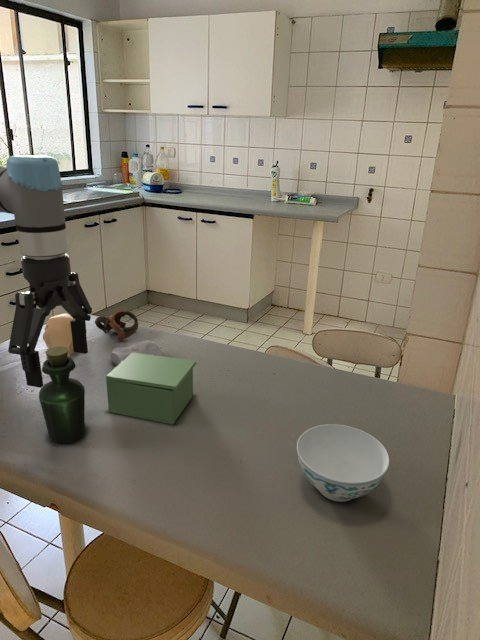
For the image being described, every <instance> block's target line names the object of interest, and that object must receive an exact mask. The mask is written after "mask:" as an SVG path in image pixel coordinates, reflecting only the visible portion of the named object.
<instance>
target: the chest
mask: <svg viewBox="0 0 480 640" xmlns="http://www.w3.org/2000/svg"><path fill="white" fill-rule="evenodd" d="M105 381H106V395H107V405H108V406H107V407H108V408H107V409H108V412H109V413H113V414H118V415H123V416H128V417H133V418H137V419H143V420H147V421H154V422H158V423H162V424H163V423H164V424H168V425H174V423H176V421H177V419H178V418H179V417H180V415H181V414H182V412H183V411H184V409H185V408H186V407H187V405H188V404H189V403H190V401H191V400H192V398H193V396H194V368H193V369H192V370H191V371H190V373H189V374H188V375H187V376H186V378H185V379H184V380H183V382H182V383H181V384H180V385H179V387H178V388H177V389H176V390H173V389H167V388H160V387H153V386H147V385H140V384H134V383H127V382H120V381H114V380H107V379H105Z"/></svg>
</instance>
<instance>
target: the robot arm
mask: <svg viewBox="0 0 480 640" xmlns="http://www.w3.org/2000/svg"><path fill="white" fill-rule="evenodd" d="M0 213H6V214H11V215H13V217H14V222H15V229H16V232H17V233H16V234H17V241H18V247H19V254H20V255H22V257H21V258H20V261H21V262H20V263H21V264H20V265H21V269H22V270H21V271H22V276H23V279H24V280H25V281H27V282H28V284H29V288H28V291H25V292H22V291H17V292H16V293H15V294H14V295H15V296H14V298H15V310H14V316H13V320H12V325H11V326H12V327H11V332H10V337H9V339H10V340H9V343H8V348H7V352H8V354H13V355H19V356H20V362H21V369H22V371H23V372H24V375H25V382H26V386H29V387H34V388H39V389H41V388H42V387H43V386H44V385H45V384H44V379H43V378H44V377H43V372H42V365H41V358H40V353H39V350H36V347H37V345H38V342H39V340H40V339H39V338H40V335H41V332H42V329H43V328H44V327H43V326H44V324H45V322H46V318H47V317H48V316H50V314H51V312H52V311H53V310H54V309H56V307H60V306H61V308H62V309H64V311H66V313H67V314H69V315H70V316H71V317H72V318H73V319H75V320H72V321H70V324H71V333H72V341H73V350H74V352H73V353H77V354H83V355H87V354H89V347H88V338H87V337H88V336H87V322H89V321H91V318H92V317H91V314H92V312H93V308H92V307H91V303H90V302H89V300H88V298H87V296H86V294H85V292H84V290H83V288H82V286H81V283H80V277H79V273H78V272H72V269H71V259H70V255H69V254H68V252H69V250H70V247H69V239H68V232H67V231H68V230H67V226H66V214H65V205H64V194H63V182H62V179H61V173H60V167H59V163H58V161H57V159H55V157H52V156H48V155H33V154H31V155H25V154H24V155H21V154H20V155H10V156H9V157H7V158H6V165H5V166H4V165H0Z"/></svg>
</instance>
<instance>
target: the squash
mask: <svg viewBox="0 0 480 640" xmlns="http://www.w3.org/2000/svg"><path fill="white" fill-rule="evenodd" d="M72 320H75V319H73V318H72V317H71V316H70V315H69V314H68V313H60V314H57V315H53V316H51V317H49V318H48V320H47V321H46V323H45V326H44V332H43V333H42V340H43V341H44V344H45V345H46V347H47V349H50V348H52V347H58V346H62V347H66V348H67V349H68V354H67V356H68V357H71V355H72V353H75V352H74V350H73V341H72V333H71V324H70V321H72ZM47 359H48V358H47V357H46V360H47Z"/></svg>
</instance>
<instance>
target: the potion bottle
mask: <svg viewBox="0 0 480 640" xmlns="http://www.w3.org/2000/svg"><path fill="white" fill-rule="evenodd" d="M67 354H68V349H67V348H66V347H62V346H58V347H52V348H50V349H49V348H47V349H46V350H45V355H46V359H45V360H44V361H43V363H42V365H41V372H42V374H44V375H48V376H49V377H50V380H49V381H48V382H46V383H44V384H43V385H44V386H42V387H41V388H40V390H39V392H38V400H39V402H40V407H41V410H42V414H43V419H44V423H45V426H46V430H47V435H48V437H49V439H50V440H51V441H52V442H55V443H56V444H69V443H73V442H75V441H77V440H79V439H80V438H81V437H82V436H83V435H84V433H85V430H86V429H85V427H86V426H85V425H86V423H85V421H86V419H85V418H86V414H85V412H86V411H85V410H86V409H85V407H86V406H85V404H86V402H85V397H86V396H85V393H86V391H85V386H84V385H83V383H82V382H81V381H79V380H78V379H76V378H71V377H70V373H71V372H73V371H74V370H75V368H76V366H77V365H76V363H75V360H74V359H73V358H72V357H71V356H70V357H68V356H67ZM47 358H48V359H47Z"/></svg>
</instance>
